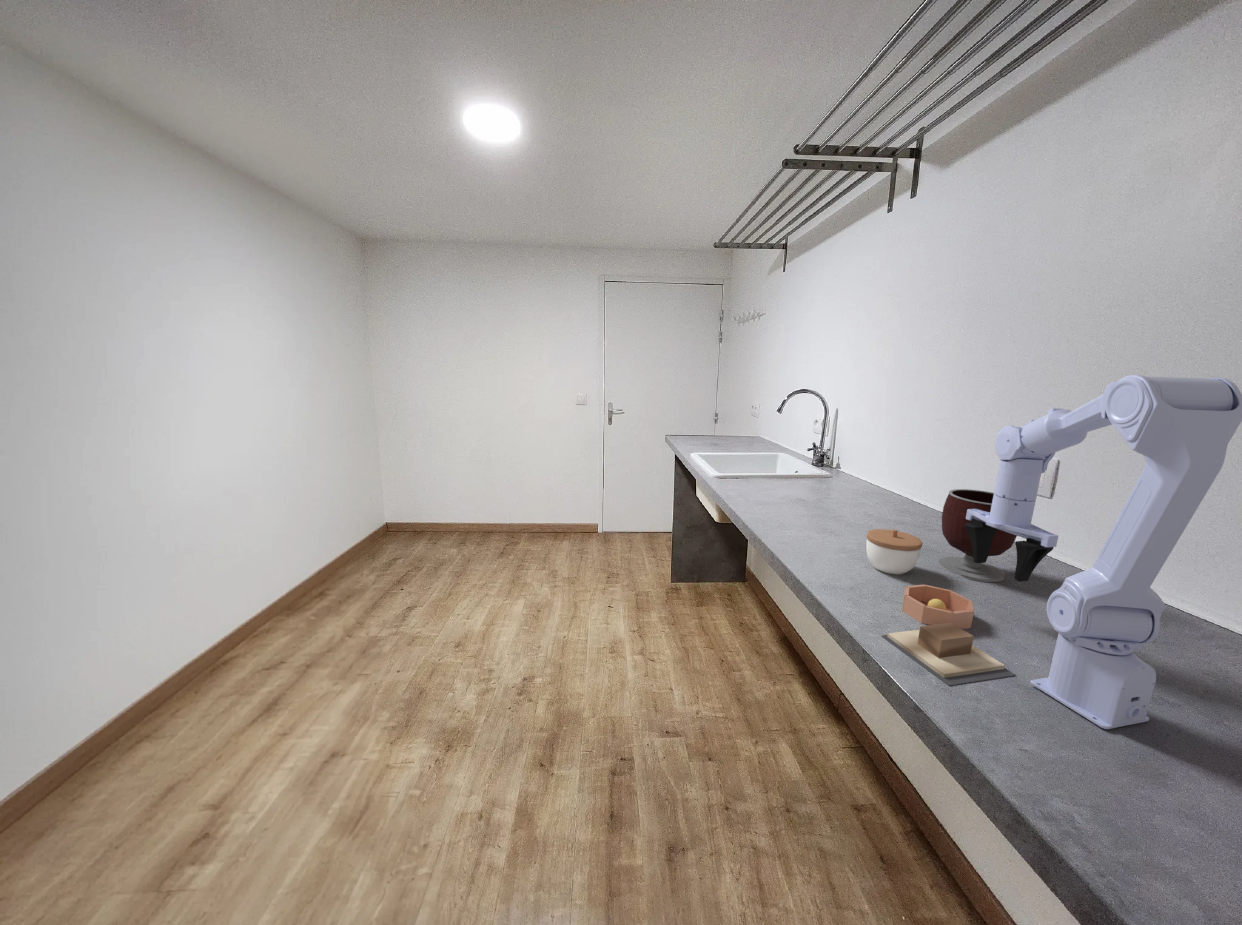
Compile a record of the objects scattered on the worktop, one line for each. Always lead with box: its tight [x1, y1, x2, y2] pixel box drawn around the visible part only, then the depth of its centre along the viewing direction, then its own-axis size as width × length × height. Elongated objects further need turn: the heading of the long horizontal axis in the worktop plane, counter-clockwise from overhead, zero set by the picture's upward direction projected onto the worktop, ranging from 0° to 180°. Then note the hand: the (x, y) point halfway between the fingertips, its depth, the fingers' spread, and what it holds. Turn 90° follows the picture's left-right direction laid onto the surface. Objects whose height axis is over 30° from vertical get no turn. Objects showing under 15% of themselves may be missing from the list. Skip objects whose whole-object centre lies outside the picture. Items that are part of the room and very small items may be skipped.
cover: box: [886, 623, 1006, 678], centre depth 78 cm, size 11×11×4 cm
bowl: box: [901, 584, 975, 630], centre depth 90 cm, size 10×10×4 cm
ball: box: [928, 599, 946, 610], centre depth 90 cm, size 3×3×3 cm
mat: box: [881, 634, 1017, 687], centre depth 77 cm, size 13×12×1 cm
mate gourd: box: [937, 488, 1018, 583], centre depth 109 cm, size 16×14×20 cm
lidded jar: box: [865, 528, 923, 575], centre depth 109 cm, size 11×11×9 cm
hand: (999, 570), depth 88 cm, fingers open, 7 cm apart
